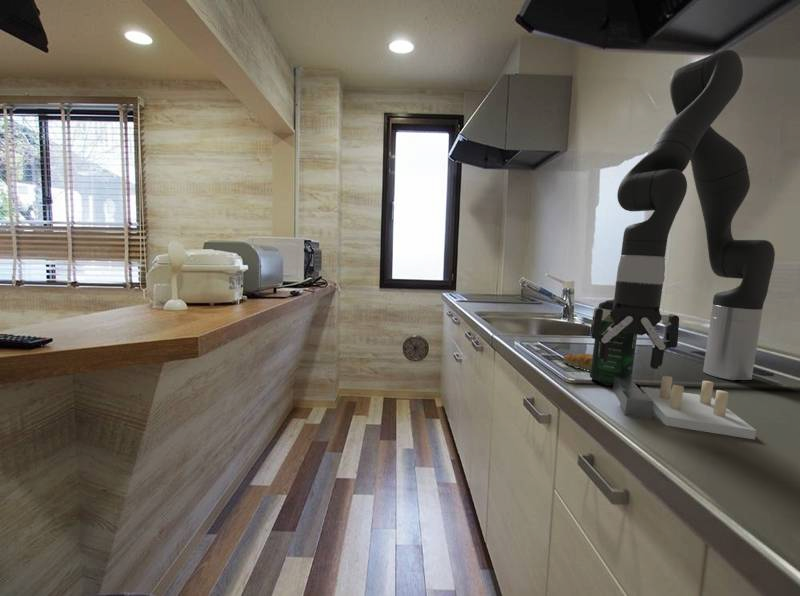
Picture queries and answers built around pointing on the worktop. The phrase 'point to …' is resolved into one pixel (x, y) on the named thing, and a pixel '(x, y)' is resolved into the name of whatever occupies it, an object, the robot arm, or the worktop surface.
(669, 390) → the rack
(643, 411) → the grey long block
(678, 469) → the worktop surface
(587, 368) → the pastry
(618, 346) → the coffee jar
